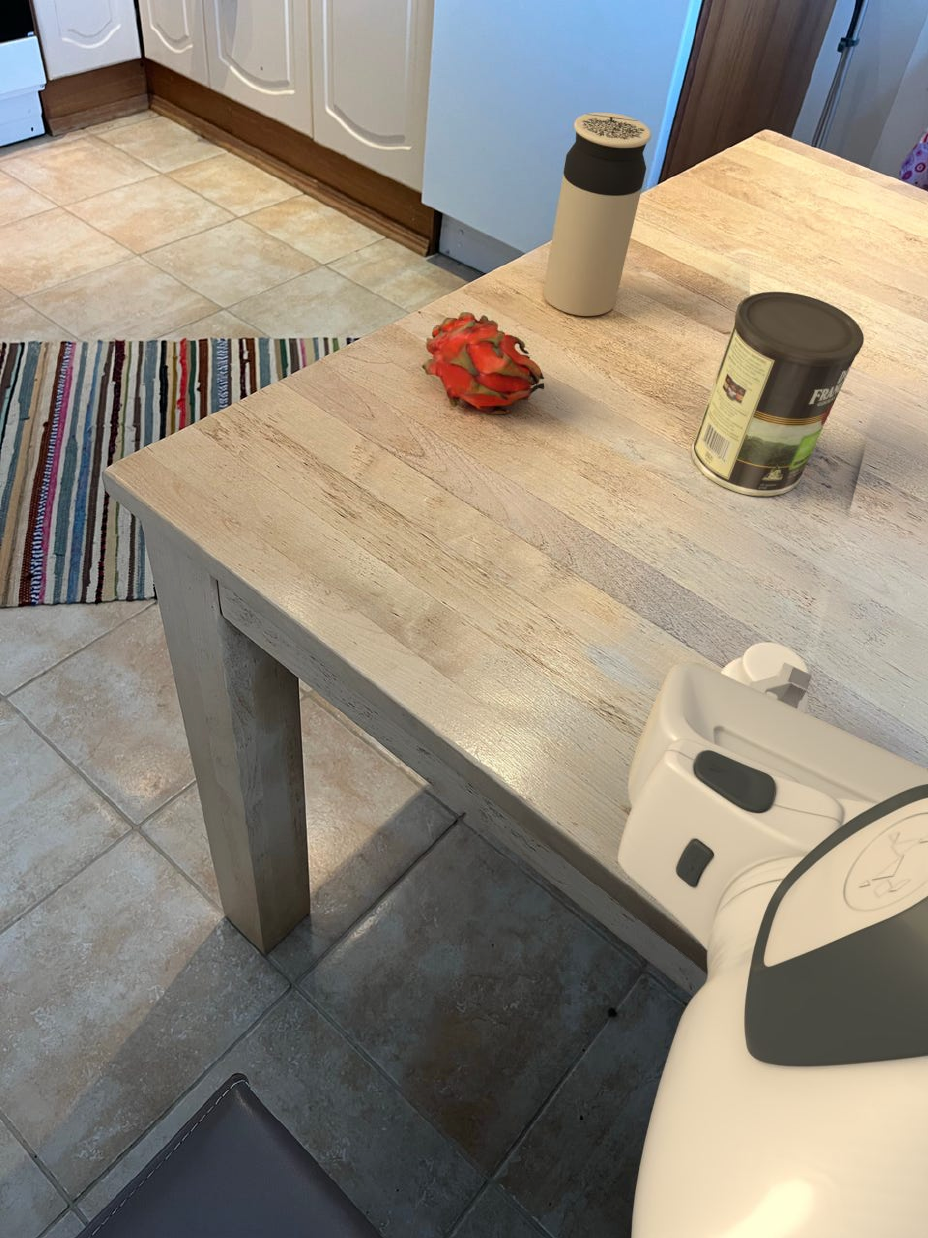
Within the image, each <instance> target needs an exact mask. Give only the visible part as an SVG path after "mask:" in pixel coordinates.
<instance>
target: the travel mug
mask: <svg viewBox="0 0 928 1238" xmlns="http://www.w3.org/2000/svg"><path fill="white" fill-rule="evenodd" d="M573 127H574V130H575V142H574V143H573V145H572V146H571V148H570V149H569V150H568V152H567V153H566V156H565V161H564V166H563V172H562V179H561V185H560V191H559V197H558V202H557V208H556V212H555V213H556V214H555V219H554V226H553V232H552V237H551V243H550V249H549V254H548V261H547V267H546V271H545V272H546V273H545V279H544V283H543V284H544V285H543V290H542V294H543V297H544V299H545V301H546V302H548V304H549V305H551V306H552V307H554V308H555V309H557V310H559V311H562V312H564V313H566V314H568V315H569V314H570V315H574V316H578V317H591V316H599V315H604V314H607V313H609V312H610V311H611V310H612V309H613V308H614V307H615V304H616V301H617V297H618V293H619V287H620V284H621V280H622V275H623V272H624V267H625V262H626V258H627V254H628V249H629V245H630V241H631V237H632V232H633V228H634V224H635V219H636V214H637V211H638V206H639V202H640V198H641V194H642V189H643V186H644V181H645V176H646V172H647V164H646V160H645V157H644V151H645V148H646V145H647V144H648V143H649V142H650V141H651V139H652V131H651V129H650V128H649V127H648V126H647V125H646V124H645V123H643V122H641V121H640V120H637V119H635V118H633V117H631V116H627V115H622V114H619V113H613V112H589V113H584V114H582V115H580V116H578V117H577V118H576V119H575V121H574V123H573Z"/></svg>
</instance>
